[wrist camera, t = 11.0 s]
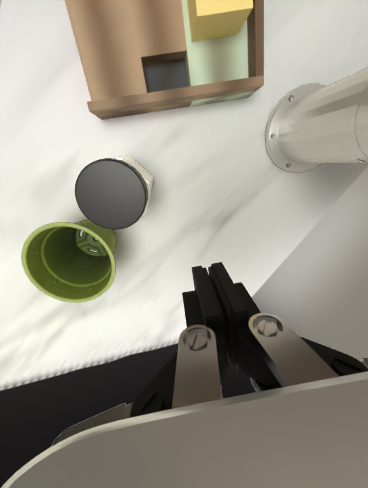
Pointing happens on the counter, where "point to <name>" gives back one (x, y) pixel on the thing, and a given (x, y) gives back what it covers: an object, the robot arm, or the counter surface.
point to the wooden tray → (161, 56)
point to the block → (217, 17)
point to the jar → (113, 192)
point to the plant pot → (70, 260)
